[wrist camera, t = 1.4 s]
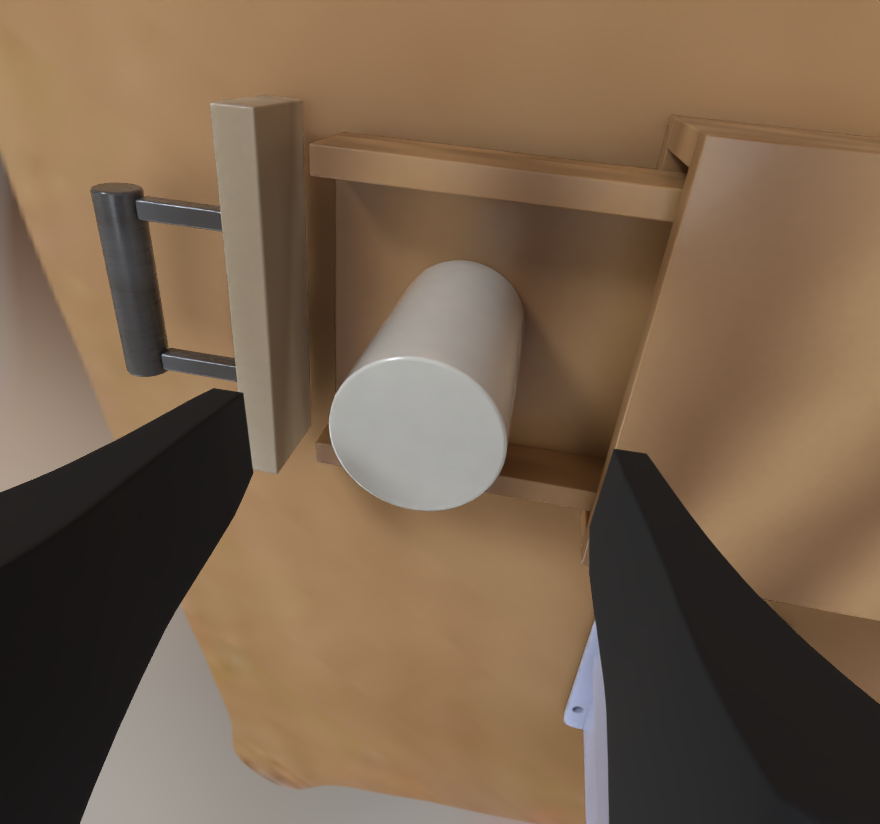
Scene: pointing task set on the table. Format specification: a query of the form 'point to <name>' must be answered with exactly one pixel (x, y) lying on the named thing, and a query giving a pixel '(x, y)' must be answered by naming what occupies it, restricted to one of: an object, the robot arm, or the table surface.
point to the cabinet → (768, 358)
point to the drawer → (408, 276)
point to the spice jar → (434, 391)
